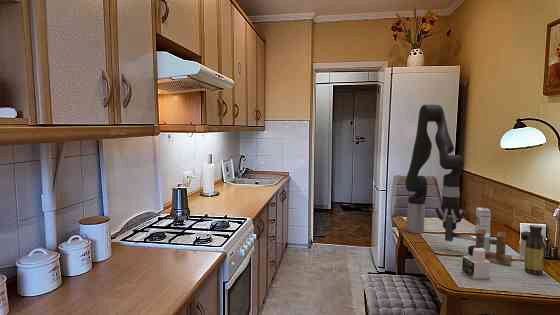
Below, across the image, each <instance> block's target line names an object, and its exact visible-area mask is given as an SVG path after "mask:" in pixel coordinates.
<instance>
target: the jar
mask: <svg viewBox="0 0 560 315" xmlns="http://www.w3.org/2000/svg"><path fill="white" fill-rule="evenodd" d="M529 236H530V231H521V233H520V245H519V246H520V247H519V260H522V261H524V262H525V247H526V240H527V239H528V237H529ZM541 239H542V240H543V241H544V235H542V234H541Z"/></svg>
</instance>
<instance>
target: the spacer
mask: <svg viewBox="0 0 560 315" xmlns="http://www.w3.org/2000/svg"><path fill="white" fill-rule="evenodd" d="M489 239H491V233H490V234H489V233H485V236H484V246H483V248H484V249H485V252H490V249H491V244H489Z"/></svg>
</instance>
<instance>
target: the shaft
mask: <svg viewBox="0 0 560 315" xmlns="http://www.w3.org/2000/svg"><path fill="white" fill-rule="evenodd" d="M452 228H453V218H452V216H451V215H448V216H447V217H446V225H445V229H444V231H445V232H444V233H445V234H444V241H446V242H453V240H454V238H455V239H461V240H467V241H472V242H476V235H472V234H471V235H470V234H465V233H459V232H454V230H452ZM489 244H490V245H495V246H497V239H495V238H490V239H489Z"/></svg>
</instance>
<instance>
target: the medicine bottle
mask: <svg viewBox="0 0 560 315" xmlns="http://www.w3.org/2000/svg"><path fill="white" fill-rule="evenodd" d="M461 264H462V266H461V267H462V268H461V272H462V273H463V274H465V275H466V276H468V277H469V278H471V279H472V280H485V279H490V277H491V274H490V273H491V262H490V261H488V260H486V259H485V249H484V248H482V247H480V246H476V244H475V245H474V244H473V245H469V246H468V248H467V255H462V263H461Z"/></svg>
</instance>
